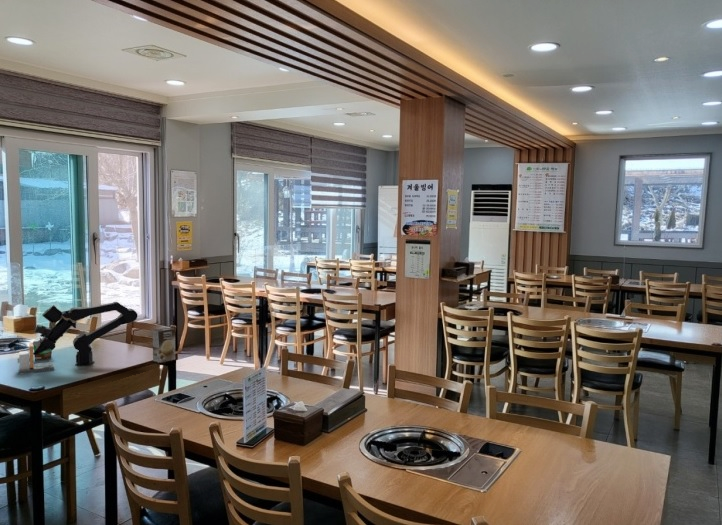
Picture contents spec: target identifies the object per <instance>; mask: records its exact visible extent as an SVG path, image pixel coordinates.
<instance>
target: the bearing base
mask: <svg viewBox="0 0 722 525" xmlns="http://www.w3.org/2000/svg"><path fill="white" fill-rule="evenodd" d="M18 354H19V355H18V356H19V357H18V359H19V362H20V363H19V366H18V368H19V369H18V373H25V374H32V373H31V372H34V373H40V372H49V371H54V370H55V366H54V362H53V361H49V362H48V361H46V362H40V363H39V362H38V363H37V362H36V363H34V367H33V368H30V358H29V357H30V351H29V350H23V351H19V353H18Z"/></svg>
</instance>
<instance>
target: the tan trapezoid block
mask: <svg viewBox="0 0 722 525" xmlns="http://www.w3.org/2000/svg"><path fill="white" fill-rule="evenodd" d="M28 345H29V347H28V348H29V349H28V351H29V358H30V368H33V367H34V364H35V363H34V361H35V357H34V354H33V353H34V347H33V342H29V344H28ZM17 363H18V364H20V362H19V358H17Z"/></svg>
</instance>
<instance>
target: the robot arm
mask: <svg viewBox="0 0 722 525" xmlns="http://www.w3.org/2000/svg"><path fill="white" fill-rule="evenodd" d="M113 311H116V312H118V313H119V315H117V317H115V318H114V319H112V320H110V321H109V322H107V323H105V324H104V325H102V326H100V327H98V328H96V329H94V330H93V331H91V332H88V333H86V332H85V331H83V332H81V333H80V334H78V335H75V336H76V337H74V339H73V340H72V344H73V347H74V349H75V350H77V352H76V355H75V364H74V365H75V366H90V365H92V364H94V363H95V361H94V360H93V357H94V356H93V348H92V347H91V344H92V343H93V342H94V341H96V340H97V339H99V338H101V337H103V336H104V335H106V334H108V333H110V332H111V331H113V330H115V329H116V328H118V327H121V326H122V325H128V324H130V323H132V322H135V321H136V320H137V319H138V312H137V311H136V310H135V309H133V308H127V307H125V305H123V304H121V303H119V301H113V302H108V303H103V304H98V305H94V306H93V305H92V306H88V307H87V306H83V307H82V306H78V307H75V306H74V307H72V308H70V309H68V310H64V311H61V310H60V309H59V308H57V306H55V305H54V304H53V305H51V306H50V307H49V308H48V309H46V310H45V311H44V312H43V313H42V315H41V316H42V317H43V318H45V320H47V321H48V322H49V323H51V324H53V323H55V324H54V325H53V326H51V327H47V326H44V325H41V324H38V323H37V324H36V327H35V328H34V333H36V334H40V335H39V336H40V338H39V340H40V344H39V345H38V347H37V348H36V350H35V351H34V350H33V356H34V355H37V354H39V353H41V352H44V351H46V350H48V349H51V350H52V351H53V350H54V349H55V348H56V343H57V341H58V340H59V339H60V338H62V337H64V334H66V332H67V331H69V330H70V329H71V328H72V327H73V329H77V322H76V321H80V320H83V319H85V318H87V317H90V316H94V315H98V314H104V313H109V312H113Z"/></svg>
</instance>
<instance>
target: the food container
mask: <svg viewBox="0 0 722 525" xmlns="http://www.w3.org/2000/svg"><path fill="white" fill-rule="evenodd" d="M32 343H33V352H34V351H35V350H36V348H37V347H38V345H39V344H40V339H39V340H38V341H37V340H34V341H32ZM52 351H53V350H51V349H48V350H46V351H44V352H41V353H39V354H37V355H34V354H33V357H34V361H36V362H37V361H45V360H46V361H47V360H49V359H51V358H52V353H53V352H52Z"/></svg>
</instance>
